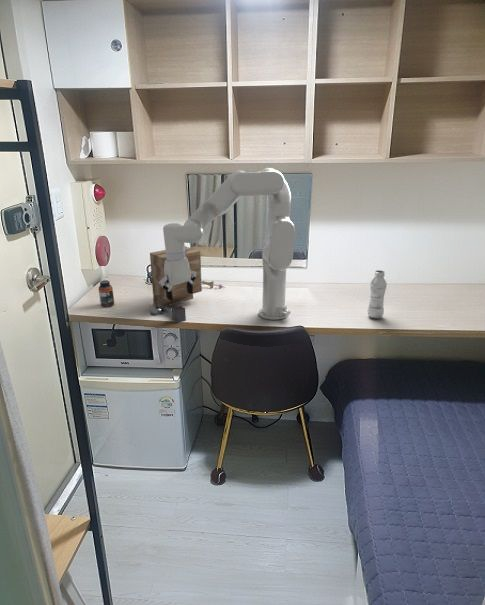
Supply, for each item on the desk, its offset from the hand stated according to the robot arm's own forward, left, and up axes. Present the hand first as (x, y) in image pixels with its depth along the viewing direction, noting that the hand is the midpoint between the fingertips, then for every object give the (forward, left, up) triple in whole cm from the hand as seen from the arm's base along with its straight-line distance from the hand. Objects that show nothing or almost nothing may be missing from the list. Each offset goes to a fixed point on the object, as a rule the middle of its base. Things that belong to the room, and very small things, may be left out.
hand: (180, 296), depth 185 cm
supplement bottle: (+36, +16, -11) cm, 40 cm away
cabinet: (+17, -9, -11) cm, 22 cm away
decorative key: (+26, -32, -11) cm, 43 cm away
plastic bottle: (-50, -63, -11) cm, 81 cm away
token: (+13, +4, -11) cm, 18 cm away
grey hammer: (+8, +1, -10) cm, 13 cm away
